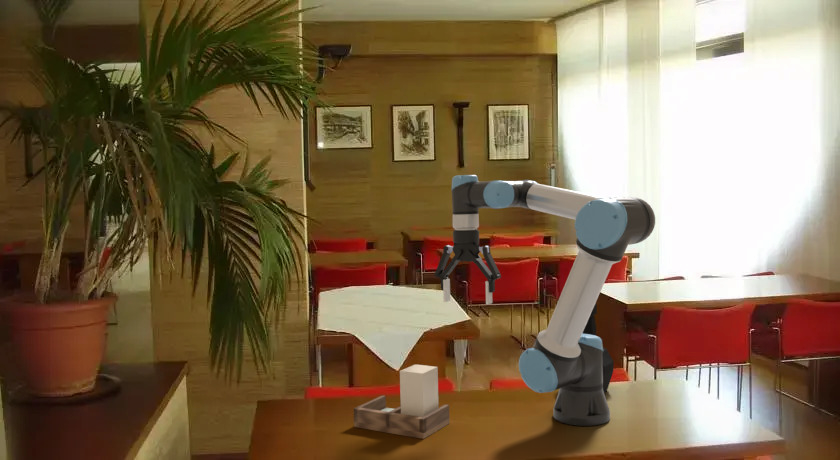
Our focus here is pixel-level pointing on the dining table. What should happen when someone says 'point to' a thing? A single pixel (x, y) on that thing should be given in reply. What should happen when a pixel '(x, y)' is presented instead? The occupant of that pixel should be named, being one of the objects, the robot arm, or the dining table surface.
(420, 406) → the white block
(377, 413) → the rack
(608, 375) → the bottle
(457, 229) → the robot arm
